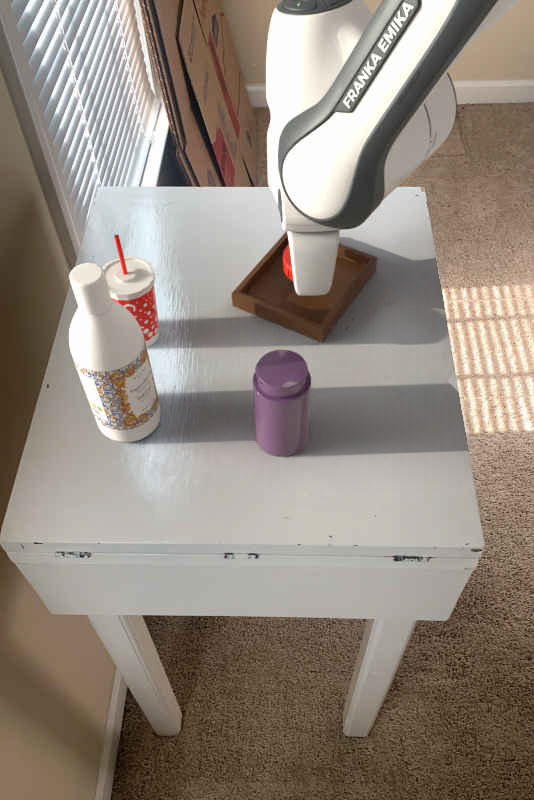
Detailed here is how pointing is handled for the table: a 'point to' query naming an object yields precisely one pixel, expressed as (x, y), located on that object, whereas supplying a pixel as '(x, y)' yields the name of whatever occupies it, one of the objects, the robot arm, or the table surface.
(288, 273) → the lid
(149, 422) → the bath foam
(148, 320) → the beverage cup
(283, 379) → the jar
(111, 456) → the table surface
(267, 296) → the tray
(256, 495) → the table surface
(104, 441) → the table surface
